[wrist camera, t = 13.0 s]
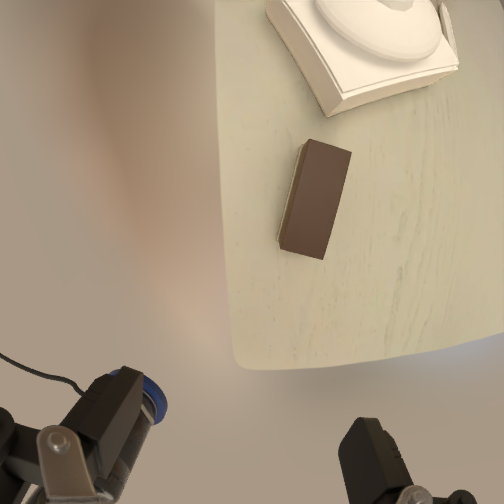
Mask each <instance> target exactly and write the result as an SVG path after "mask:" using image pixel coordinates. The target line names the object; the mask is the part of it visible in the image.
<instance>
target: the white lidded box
mask: <svg viewBox="0 0 504 504" xmlns="http://www.w3.org/2000/svg"><path fill="white" fill-rule="evenodd" d="M266 16H267V17H268V19H269V20H270V22H271V23H272V25H273V26H274V28H275V29H276V31H277V32H278V34H279V36H280V37H281V39H282V40H283V42H284V43H285V45H286V47H287V48H288V50H289V52H290V53H291V55H292V57H293V58H294V60H295V62H296V63H297V65H298V67H299V68H300V70H301V72H302V74H303V76H304V77H305V79H306V81H307V83H308V84H309V86H310V88H311V90H312V92H313V94H314V96H315V98H316V99H317V101H318V103H319V105H320V107H321V109H322V111H323V113H324V115H325V117H326V118H327V117H330V116H332V115H335V114H338V113H341V112H344V111H347V110H350V109H353V108H355V107H358V106H361V105H365V104H368V103H371V102H374V101H377V100H380V99H384V98H387V97H390V96H394V95H397V94H401V93H404V92H408V91H411V90H415V89H419V88H423V87H426V86H429V85H431V84H433V83H434V82H436V81H438V80H440V79H442V78H443V77H445V76H447V75H449V74H451V73H452V72H454V71H456V70H458V67H457V65H459V64H460V63H459V61H458V59H457V58H456V56H455V54H454V52H453V50H452V49H451V47H450V45H449V44H448V42H447V40H446V39H445V37H444V35H443V34H442V32H441V24H440V20H439V17H438V15H437V13H436V10H435V8H434V6H433V5H432V3H431V2H430V0H266Z"/></svg>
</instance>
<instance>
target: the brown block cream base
mask: <svg viewBox="0 0 504 504" xmlns="http://www.w3.org/2000/svg"><path fill="white" fill-rule="evenodd" d="M351 153H352V152H350V151H347V150H344V149H341V148H338V147H335V146H331V145H328V144H325V143H322V142H318V141H315V140H312V139H309V140H308V141H307V142H306V143H305V144H302V145H301V146H300V150H299V154H298V158H297V162H296V166H295V170H294V174H293V178H292V182H291V185H290V189H289V193H288V197H287V201H286V205H285V209H284V212H283V216H282V220H281V224H280V228H279V231H278V235H277V239H276V241H277V242H278V243H279V245H280V249H282V250H286V251H290V252H294V253H298V254H302V255H305V256H309V257H313V258H317V259H321V260H323V258H324V255H325V252H326V248H327V245H328V241H329V238H330V234H331V231H332V227H333V224H334V220H335V217H336V213H337V209H338V205H339V202H340V198H341V194H342V190H343V186H344V182H345V178H346V174H347V170H348V166H349V162H350V157H351Z"/></svg>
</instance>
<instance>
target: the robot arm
mask: <svg viewBox="0 0 504 504" xmlns="http://www.w3.org/2000/svg"><path fill="white" fill-rule="evenodd" d="M0 357H1V358H2V359H4V360H5V361H7V362H9V363H11V364H12V365H14V366H16V367H18V368H20V369H23V370H25V371H27V372H30V373H32V374H35V375H37V376H40V377H43V378H46V379H51V380H56V381H61V382H65V383H68V384H70V385H71V386H72V387H73V388H74V390H75V391H76V392H77V393H78V394H79V395H81V396H82V397H81V398H80V399H79V400H78V402H77V403H76V404H75V406H74V407H73V408H72V409H71V410H70V412H69V413H68V414H67V416H66V417H65V418H64V419H63V421H62V422H61V423H60V424H59V425H51V426H47V427H45V428H43V429H42V430H38V429H34V428H30V427H26V426H24V425H20V424H17V423H15V422H14V420H13V418H12V415H11V414H10V413H9V412H8V411H7V410H5V409H4V408H1V407H0V504H21V502H22V500H23V498H24V496H25V494H26V493H27V491H28V489H29V487H30V485H31V484H35V485H38V487H37V488H36V489H35V491H34V492H33V493H32V494H31V496H30V497H29V499H28V500H27V501H26V503H25V504H115V503H116V502H117V501H118V500H119V498H120V496H121V494H122V491H123V489H124V487H125V484H126V482H127V480H128V477H129V475H130V473H131V470H132V468H133V465H134V463H135V461H136V459H137V457H138V454H139V452H140V450H141V447H142V445H143V443H144V441H145V438H146V436H147V434H148V432H149V430H150V427H151V425H154V422H155V421H154V419H155V417H156V415H157V412H158V408H157V404H156V402H155V400H154V399H153V397H152V396H151V395H150V394H149V393H148V392H147V391H146V390H145V389H143V379H144V374H143V373H142V372H140V371H137V370H134V369H132V368H129V367H126V366H122V367H121V369H120V370H119V371H118V373H117V374H116V375H115V376H112V375H110V374H105V375H103V376H101V377H99V378H97V379H95V380H94V382H93V383H92V384H91V385H90V387H89V388H88V390H86V391H85V392H83V391H82V390H81V389H80V388H79V387H78V386H77V384H76V383H75V382H74V381H72V380H70V379H68V378H65V377H60V376H55V375H49V374H45V373H42V372H39V371H36V370H34V369H31V368H28V367H26V366H24V365H21V364H19V363H17V362H15V361H13V360H11V359H9V358H7V357H6V356H4V355H3V354H1V353H0ZM338 456H339V460H340V464H341V469H342V473H343V477H344V482H345V486H346V490H347V495H348V499H349V503H350V504H477V502H476V500H475V498H474V496H473V495H472V494H471V493H470V492H468V491H466V490H457V491H455V492H453V493H452V494H451V495H450V496H449V497H448V498H439V497H432V496H431V494H430V493H429V491H427V490H426V489H425V488H423V487H421V486H417V485H414V484H413V482H412V479H411V477H410V475H409V472H408V470H407V468H406V465H405V463H404V461H403V458H401V454H400V452H399V451H398V447H397V445H396V443H395V441H394V439H393V438H392V437H391V436H390V435H389V433H388V432H387V431H386V430H383V429H382V427H381V425H380V422H379V420H378V419H377V418H364V417H359V418H357V419H356V420H355V421H354V423H353V425H352V426H351V428H350V429H349V431H348V432H347V434H346V435H345V437H344V438H343V440H342V442H341V443H340V446H339V450H338Z"/></svg>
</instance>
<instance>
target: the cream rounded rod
mask: <svg viewBox="0 0 504 504" xmlns="http://www.w3.org/2000/svg"><path fill="white" fill-rule="evenodd" d="M439 14H440V21H441V27H442V33H443V35H444V37H445V39H446V40H447V42H448V44H449V45H450V47H451V49H452V50H453V52H454V54H455V56H456V58H457V59H458V56H457V50H456V44H455V39H454V34H453V30H452V26H451V21H450V17H449V14H448V11H447V9H446V7H445V6H444V4H443V3H442V2H441V5H440V9H439Z"/></svg>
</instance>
